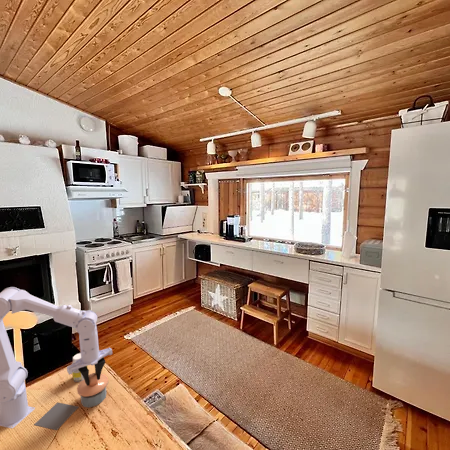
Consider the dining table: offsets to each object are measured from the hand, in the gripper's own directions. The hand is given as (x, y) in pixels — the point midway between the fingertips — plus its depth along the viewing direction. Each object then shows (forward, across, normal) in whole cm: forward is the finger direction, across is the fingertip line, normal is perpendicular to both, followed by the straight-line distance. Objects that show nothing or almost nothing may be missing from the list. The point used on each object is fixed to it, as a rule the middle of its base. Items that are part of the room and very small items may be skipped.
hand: (92, 381), depth 92 cm
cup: (+7, 0, 0) cm, 7 cm away
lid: (+2, 0, 0) cm, 2 cm away
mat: (+7, -11, +2) cm, 14 cm away
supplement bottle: (+8, 0, +15) cm, 17 cm away
